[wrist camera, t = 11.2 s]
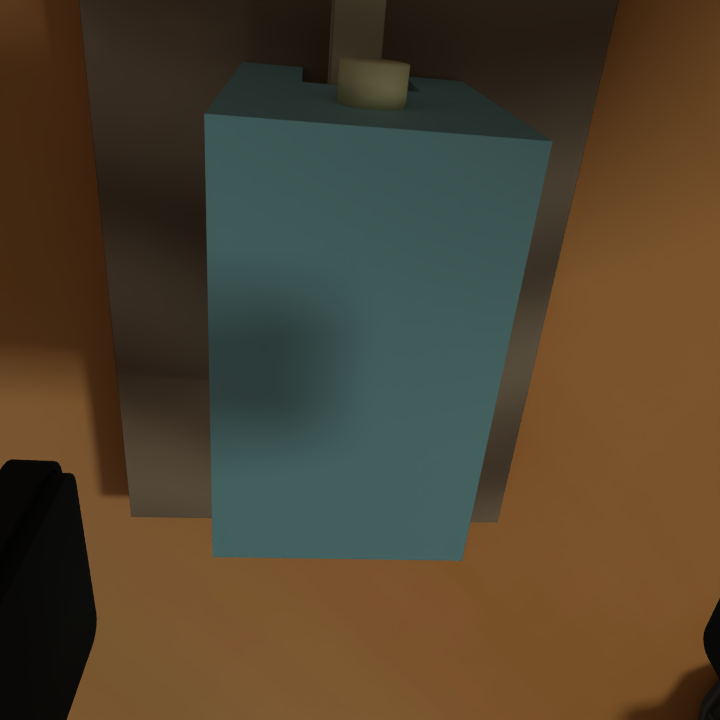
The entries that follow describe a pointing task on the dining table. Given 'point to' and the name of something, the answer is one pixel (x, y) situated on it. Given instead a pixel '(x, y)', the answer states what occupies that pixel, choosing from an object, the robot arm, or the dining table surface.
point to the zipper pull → (711, 704)
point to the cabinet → (358, 305)
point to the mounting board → (188, 184)
